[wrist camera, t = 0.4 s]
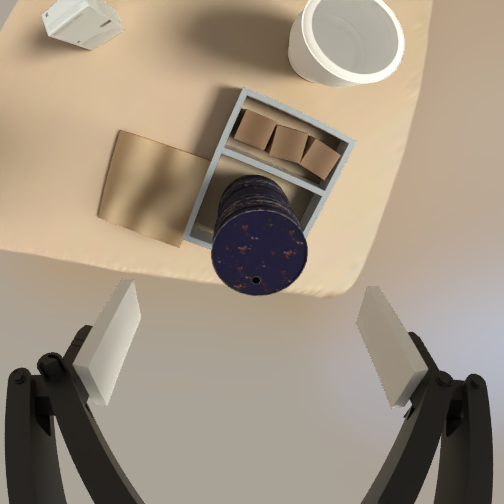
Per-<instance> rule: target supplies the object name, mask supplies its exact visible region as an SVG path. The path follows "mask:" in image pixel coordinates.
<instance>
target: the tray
mask: <svg viewBox="0 0 504 504" xmlns="http://www.w3.org/2000/svg"><path fill="white" fill-rule="evenodd" d="M246 96H247V97H250V98H252V99H255V100H257V101H259V102H262V103H264V104H266V105H269V106H271V107H273V108H276V109H278V110H280V111H282V112H285V113H287V114H289V115H291V116H293V117H295V118H298V119H300V120H302V121H304V122H306V123H308V124H310V125H312V126H314V127H316V128H318V129H320V130H322V131H324V132H326V133H328V134H330V135H332V136H333V137H335V138H337V139H339V140H341V141H340V143H339V145H338V147H337V149H336V151H335V152H337V153H338V154H340V155H341V156H340V157H339V159H338V161H337V162H336V164H335V165H334V167H333V168H332V170H331V171H330V173H329V174H328V176H327V177H326V179H325V180H323V179H321V181H320V183H319V185H318V184H316V183H314V182H312V181H310V180H308V179H305V178H303V177H301V176H299V175H297V174H295V173H292V172H290V171H288V170H286V169H283V168H281V167H279V166H276V165H274V164H272V163H270V162H267V161H265V160H262V159H260V158H258V157H255V156H253V155H250V154H248V153H246V152H243V151H241V150H238V149H236V148H233V147H231V146H228V145H225V144H226V141H227V139H228V137H229V134H230V132H231V130H232V128H233V125H234V123H235V121H236V118H237V116H238V114H239V112H240V110H241V107H242V105H243V103H244V101H245V99H246ZM355 143H356V141H355V140H354V139H352V138H350V137H348V136H347V135H345V134H343V133H341V132H339V131H338V130H336V129H334V128H332V127H330V126H328V125H326V124H324V123H322V122H320V121H318V120H316V119H314V118H312V117H310V116H308V115H306V114H304V113H302V112H300V111H298V110H296V109H294V108H292V107H290V106H287V105H285V104H283V103H281V102H278V101H276V100H274V99H272V98H269V97H267V96H265V95H262V94H260V93H257V92H255V91H253V90H250V89H248V88H245V87H243V89H242V92H241V94H240V96H239V98H238V100H237V102H236V105H235V107H234V109H233V111H232V114H231V116H230V118H229V120H228V123H227V125H226V127H225V130H224V132H223V134H222V137H221V139H220V141H219V144H218V146H217V149H216V151H215V153H214V156H213V158H212V161H211V163H210V166H209V168H208V171H207V173H206V176H205V178H204V181H203V183H202V186H201V189H200V191H199V194H198V196H197V199H196V202H195V204H194V207H193V210H192V213H191V215H190V218H189V221H188V223H187V226H186V229H185V232H184V235H183V238H182V239H183V240H186V241H189V242H192V243H194V244H197V245H200V246H203V247H205V248H208V249H212V240H213V234H211V233H208V232H206V231H203V230H200V229H197V228H195V227H193V224H194V222H195V219H196V216H197V214H198V211H199V208H200V206H201V203H202V200H203V198H204V195H205V193H206V190H207V188H208V185H209V183H210V180H211V178H212V175H213V173H214V170H215V168H216V165H217V163H218V160H219V158H220V156H221V153H222V154H225V155H227V156H230V157H232V158H235V159H237V160H240V161H242V162H245V163H247V164H250V165H252V166H255V167H257V168H259V169H262V170H264V171H267V172H269V173H271V174H274V175H276V176H278V177H281V178H283V179H285V180H287V181H290V182H292V183H294V184H296V185H299V186H301V187H303V188H305V189H308V190H310V191H312V192H314V195H313V197H312V199H311V201H310V203H309V205H308V207H307V209H306V211H305V213H304V214H303V216H302V218H301V220H300V222H299V223H300V225H301V228H302V231H303V234H304V236H305V239H306V238H307V236H308V234H309V232H310V230H311V228H312V226H313V225H314V223H315V221H316V219H317V217H318V215H319V213H320V212H321V210H322V208H323V206H324V204H325V202H326V200H327V198H328V196H329V194H330V192H331V191H332V189H333V187H334V185H335V183H336V181H337V179H338V177H339V175H340V173H341V171H342V169H343V167H344V165H345V163H346V161H347V159H348V157H349V155H350V153H351V151H352V149H353V147H354V145H355Z"/></svg>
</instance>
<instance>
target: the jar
mask: <svg viewBox="0 0 504 504" xmlns="http://www.w3.org/2000/svg"><path fill="white" fill-rule="evenodd" d="M404 52H405V38H404V33H403V29H402V27H401V24H400V22H399V20H398V18H397V17H396V15H395V14H394V12H393V11H392V10H391V8H390V7H389V6H388V5H387V4H386V3H385V2H384V1H382V0H309V1H308V2H307V4H306V5H305V7H304V9H303V11H302V12H301V13H300V14H299V15H298V16H297V18H296V19H295V21H294V23H293V25H292V28H291V31H290V37H289V47H288V58H289V61H290V64H291V66H292V68H293V69H294V70H295V72H296V73H297V74H298V75H300V76H301V77H302V78H304V79H306V80H308V81H310V82H314V83H321V84H324V85H328V86H333V87H349V86H355V85H358V84H369V83H376V82H379V81H382V80H384V79H386V78H388V77H389V76H391V75H392V74H393V73H394V72H395V71H396V70H397V69H398V67H399V66H400V64H401V62H402V59H403V56H404Z"/></svg>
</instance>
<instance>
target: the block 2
mask: <svg viewBox="0 0 504 504" xmlns="http://www.w3.org/2000/svg"><path fill="white" fill-rule="evenodd" d="M307 137H308V134H307V133H304V132H302V131H298V130H295V129H291V128H288V127H284V126H280V125H277V124H276V126H275V128H274V130H273V132H272V134H271V137H270V141H269V144H268V148H267V153H268V154H269V156H273V157H277V158H281V159H285V160H288V161H292V162H296V163H299V164H300V161H301V158H302V154H303V151H304V147H305V144H306V141H307Z"/></svg>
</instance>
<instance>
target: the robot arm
mask: <svg viewBox="0 0 504 504" xmlns="http://www.w3.org/2000/svg"><path fill="white" fill-rule="evenodd" d="M140 319H141V315H140V310H139V305H138V300H137V295H136V289H135V283H134V279H123V278H122V279H121V280H120V282H119V283H118V285H117V286H116V288H115V290H114V291H113V293H112V295H111V296H110V298H109V300H108V301H107V303H106V305H105V307H104V308H103V310H102V312H101V313H100V315H99V317H98V318H97V320H96V322H95V324H94V326H89V325H85V326H84V327H82V328H81V329H80V330H79V331H78V332H77V334H76V336H75V337H74V340H73V341H72V343H71V346H69V348H68V350H67V352H66V353H65V355H64V357H63V358H62V356H61V355H59V354H58V353H54V352H51V353H47V354H45V355H43V356H42V357H41V358H40V359H39V361H38V363H37V369H38V370H39V372H40V374H41V375H31V373H30V372H29V370H28V369H26V368H18V369H15V370H14V371H13V372H12V373H11V374H10V376H9V379H8V387H7V399H6V414H5V462H6V463H5V464H6V478H7V488H8V497H9V504H67V503H66V499H65V494H64V489H63V484H62V479H61V474H60V468H59V462H58V455H57V447H56V439H55V428H54V416H56V419H57V422H58V425H59V428H60V430H61V433H62V435H63V438H64V440H65V443H66V445H67V448H68V450H69V453H70V455H71V457H72V460H73V462H74V464H75V465H76V468H77V470H78V473H79V474H80V477H81V478H82V481H83V483H84V485H85V486H86V488H87V490H88V492H89V494H90V496H91V498H92V500H93V501H94V503H95V504H145V503H144V502H143V501H142V499H141V498H140V496H139V495H138V493H137V492H136V490H135V489H134V487H133V486H132V485H131V483H130V481H129V480H128V478H127V477H126V475H125V473H124V472H123V470H122V468H121V467H120V465H119V464H118V462H117V460H116V459H115V457H114V455H113V453H112V452H111V450H110V448H109V446H108V444H107V442H106V441H105V439H104V437H103V435H102V433H101V431H100V429H99V427H98V425H97V423H96V421H95V419H94V417H93V415H92V412H91V410H90V408H89V406H88V404H87V400H88V397H90V399H91V400H92V402H93V403H95V404H99V405H104V406H108V403H109V400H110V397H111V394H112V392H113V389H114V386H115V383H116V380H117V378H118V375H119V372H120V370H121V367H122V364H123V361H124V359H125V357H126V354H127V351H128V349H129V346H130V344H131V341H132V339H133V336H134V334H135V331H136V329H137V327H138V324H139V322H140ZM356 325H357V327H358V329H359V331H360V333H361V336H362V338H363V340H364V343H365V345H366V347H367V349H368V352H369V354H370V357H371V359H372V361H373V364H374V366H375V369H376V371H377V374H378V376H379V378H380V381H381V383H382V386H383V388H384V391H385V393H386V396H387V399H388V401H389V404H390V406H391V409H393V408H399V407H404V406H405V405H406V403H407V402H408V400H409V399H410V401H411V403H412V406H411V407H410V409H409V410H408V411H407V413H406V414H405V415H404V418H405V417H406V418H405V421H404V423H403V425H402V427H401V430H400V432H399V434H398V436H397V438H396V441H395V443H394V445H393V447H392V449H391V451H390V453H389V455H388V457H387V459H386V461H385V463H384V464H383V466H382V468H381V470H380V472H379V474H378V476H377V477H376V479H375V481H374V483H373V484H372V486H371V488H370V489H369V491H368V493H367V494H366V496H365V498H364V499H363V501H362V502H361V504H414V502H415V501H416V499H417V496H418V494H419V492H420V490H421V487H422V485H423V483H424V480H425V478H426V475H427V473H428V470H429V468H430V465H431V463H432V460H433V457H434V454H435V451H436V449H437V446H438V443H439V439H440V436H441V449H440V462H439V471H438V480H437V486H436V493H435V499H434V504H491V502H492V487H493V444H492V428H491V417H490V407H489V400H488V392H487V387H486V382H485V381H484V379H483V378H482V377H481V376H479V375H477V374H470V375H469V376H468V377H467V378H466V380H465V381H461V380H453V378H452V377H451V376H450V375H449V374H448V373H446V372H444V371H439V369H438V368H437V366H436V364H435V362H434V360H433V359H432V357H431V355H430V354H429V352H428V350H427V348H426V347H425V346H424V344H423V342H422V340H421V339H420V337H418V336H417V335H416V334H415V333H414V332H407V331H406V329H405V328H404V326H403V324H402V323H401V321H400V319H399V318H398V316H397V314H396V313H395V311H394V310H393V308H392V306H391V305H390V303H389V302H388V300H387V299H386V297H385V295H384V294H383V292H382V291H381V289H380V288H379V286H367V288H366V292H365V295H364V299H363V302H362V306H361V309H360V312H359V315H358V318H357V321H356Z"/></svg>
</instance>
